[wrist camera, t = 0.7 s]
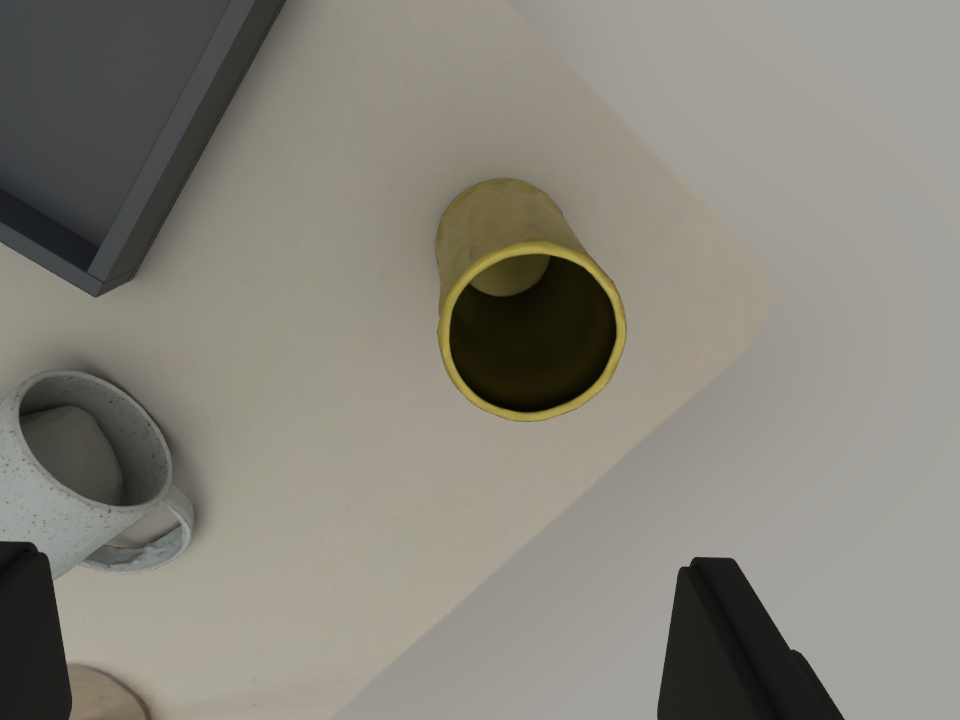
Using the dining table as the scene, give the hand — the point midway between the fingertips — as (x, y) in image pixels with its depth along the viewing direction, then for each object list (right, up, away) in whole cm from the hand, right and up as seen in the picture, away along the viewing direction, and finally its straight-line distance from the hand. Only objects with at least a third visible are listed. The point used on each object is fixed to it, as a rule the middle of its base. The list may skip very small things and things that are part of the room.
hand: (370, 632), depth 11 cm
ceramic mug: (-17, -1, +26) cm, 31 cm away
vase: (+3, +9, +23) cm, 25 cm away
